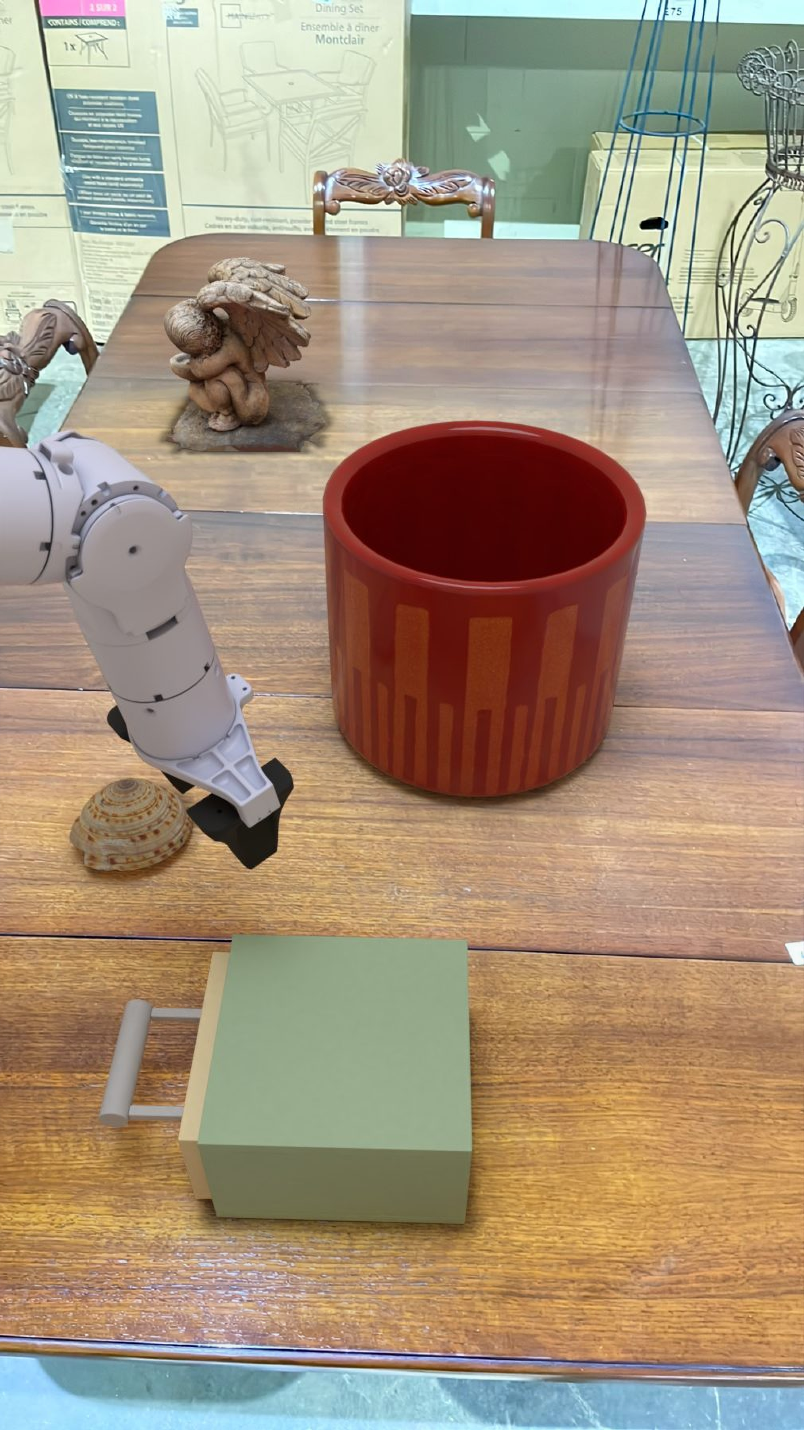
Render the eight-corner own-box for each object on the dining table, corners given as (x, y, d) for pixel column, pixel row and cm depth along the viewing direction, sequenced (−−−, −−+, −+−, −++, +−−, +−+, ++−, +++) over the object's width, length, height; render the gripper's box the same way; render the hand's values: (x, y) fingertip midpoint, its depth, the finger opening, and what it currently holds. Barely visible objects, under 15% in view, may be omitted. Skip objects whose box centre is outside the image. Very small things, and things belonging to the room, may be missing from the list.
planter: (647, 790, 83) (696, 573, 69) (349, 824, 80) (340, 605, 67) (567, 611, 100) (594, 408, 86) (319, 634, 97) (307, 428, 83)
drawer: (103, 1196, 59) (78, 1137, 54) (145, 1013, 67) (127, 949, 63) (423, 1205, 59) (425, 1146, 54) (425, 1020, 67) (427, 956, 63)
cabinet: (216, 1217, 59) (196, 1143, 53) (246, 1015, 68) (232, 933, 63) (464, 1224, 59) (472, 1151, 53) (461, 1020, 68) (467, 939, 62)
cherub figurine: (189, 380, 135) (168, 231, 123) (332, 383, 134) (326, 234, 122) (160, 450, 122) (134, 292, 110) (319, 453, 121) (311, 295, 109)
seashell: (41, 848, 76) (91, 748, 79) (74, 872, 81) (121, 777, 84) (142, 881, 73) (190, 777, 76) (170, 905, 78) (214, 806, 81)
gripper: (304, 693, 52) (350, 852, 62) (156, 559, 60) (218, 718, 70) (181, 775, 50) (249, 926, 60) (44, 623, 58) (125, 778, 68)
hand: (226, 818), depth 65 cm, fingers open, 7 cm apart
